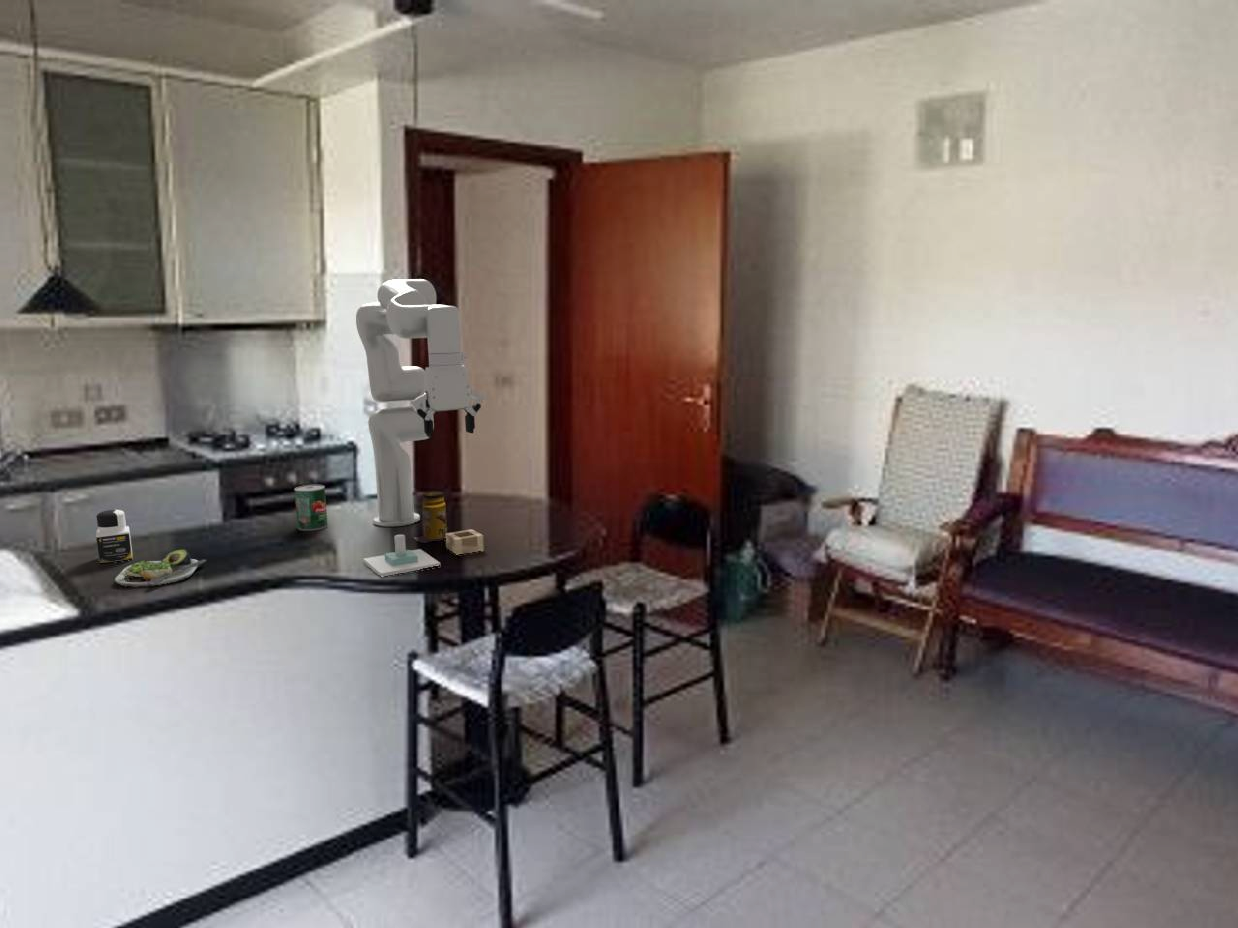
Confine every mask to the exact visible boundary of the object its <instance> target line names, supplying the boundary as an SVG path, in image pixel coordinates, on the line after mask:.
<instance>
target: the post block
mask: <svg viewBox="0 0 1238 928" xmlns="http://www.w3.org/2000/svg"><path fill="white" fill-rule="evenodd" d="M406 546H407V545H406V535H405V534H396V535H394V549H395V551H393V552H387V553H384V554H383V555H376V556H371V557H364V558H362V560H363V564H364V565H366V566H367V567H368V568H369V569H370V568H371V569H372V572H374V571H375V572H376V573H377V574H378V575H380V576H387V575H392V574H398V573H404V572H409V571H414V570H420V569H423V568H428V567H433V566H439V565H440V566H441V562H440V561H438V560H437V559H435V558H434V557H432V556H431V555H430V554H428V553H427V552H426V551H424V550H422V549H421V548H417V549H412V550H410V549H407V547H406ZM371 569H370V570H371ZM375 572H374V573H375ZM376 573H375V574H376ZM377 574H376V575H377ZM378 575H377V576H378ZM380 576H379V577H380Z"/></svg>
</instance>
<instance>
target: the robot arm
mask: <svg viewBox="0 0 1238 928" xmlns="http://www.w3.org/2000/svg"><path fill="white" fill-rule="evenodd" d="M377 300H378V301H377V302H370V303H366V304H362V305H361V306H360V307H359V308H358V309H357V311H356V314H355V324H356V329H357V334H358V336H359V339H360V341H361V343H362V346H363V348H364V351H365V356H366V364H367V365H366V366H367V371H368V381H369V389H370V394H371V397H372V400H374V401H375V402H376V403H379V404H380V403H381V404H393V403H394V404H395V403H405V402H410V405H409V406H397V407H387V408H382V409H381V408H380V409H377V410H375V411H373V412H372V413H371V414H370V416H369V418H368V422H367V423H368V424H367V425H368V430H369V431H368V432H369V434H370V438H371V439H370V440H371V443H372V450H373V456H374V468H375V470H374V471H375V481H376V482H375V483H376V494H377V495H376V496H377V508H378V509H377V510H378V515H377V516H375V517H374V518H373V524H374V525H376V526H378V527H402V526H407V525H408V526H409V525H412V524H415V522H416V523H417V522H419V521H420V520H421V516H420V514H419V513H417V512H414V511H415V510H414V495H413V481H412V479H413V478H412V467H411V466H412V465H411V458H410V455H409V453H408V452H407V451H406V450H405V449H404V448H403V447H402V446H401V443H405V442H414V441H421V440H427V439H429V438H430V439H431V438H434V437H435V433H434V431H435V423H434V421H435V420H434V414H435V413H436V412H444V411H455V410H463V411H464V412H465V413H466V415H465V416H464V423H465V432H466V433H468V434H474V430H475V429H476V426H475V425H476V423H475V421H476V420H475V416H476V415H477V413H478V412H479V410H480V409H481V407H482V404H483V401H484V400H485V397H484V395H482V394H480V393H478V392H476V391H474V390H471V388H470V380H469V376H468V375H469V374H468V372H467V368H466V365H463V364H464V361H468V359H469V356H468V353H467V354H466V353H465V354H464V352H463V349H462V334H461V316H460V310H459V308H458V307H456V306H454V305H446V304H437V292H436V289H435V287H434V285H433V284H432V283H431V282H430V281H429V280H427V279H422V278H419V279H418V278H415V279H411V278H410V279H403V278H402V279H391V280H387V281H386V282H384V283H382V284H381V285H380V287H379V288H378V290H377ZM387 335H396V336H397V337H398V338H401V339H409V340H410V339H427V351H428V352H427V353H428V354H427V355H428V367H427V366H426V367H425V369H424V368H422V367H420V366H415V365H414V366H412V365H411V366H401V364H400V354H399V353H400V352H399V350H398V347H397V346H396V344H395V343H394V342H393V340H391V338H390V337H388V336H387ZM472 398H474V399H475V402H474V403H473V405H472V406H471V404H472Z"/></svg>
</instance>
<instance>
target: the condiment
mask: <svg viewBox="0 0 1238 928" xmlns="http://www.w3.org/2000/svg"><path fill="white" fill-rule="evenodd" d="M444 500H445V498H444V493H443V492H442V491H438V490H436V491H427V492H424V493H423V495H422V502H423V503H422V505H421V512H422V513H421V514H422V517H421V518H422V529H423V531H422V533H423V535H424V538H425V539H431V540H434V539H442V538H446V535H445V534H446V533H448V526H447V525H448V523H447V509H446V508H447V506H446V504H447V503H446V502H445V501H444Z"/></svg>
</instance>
